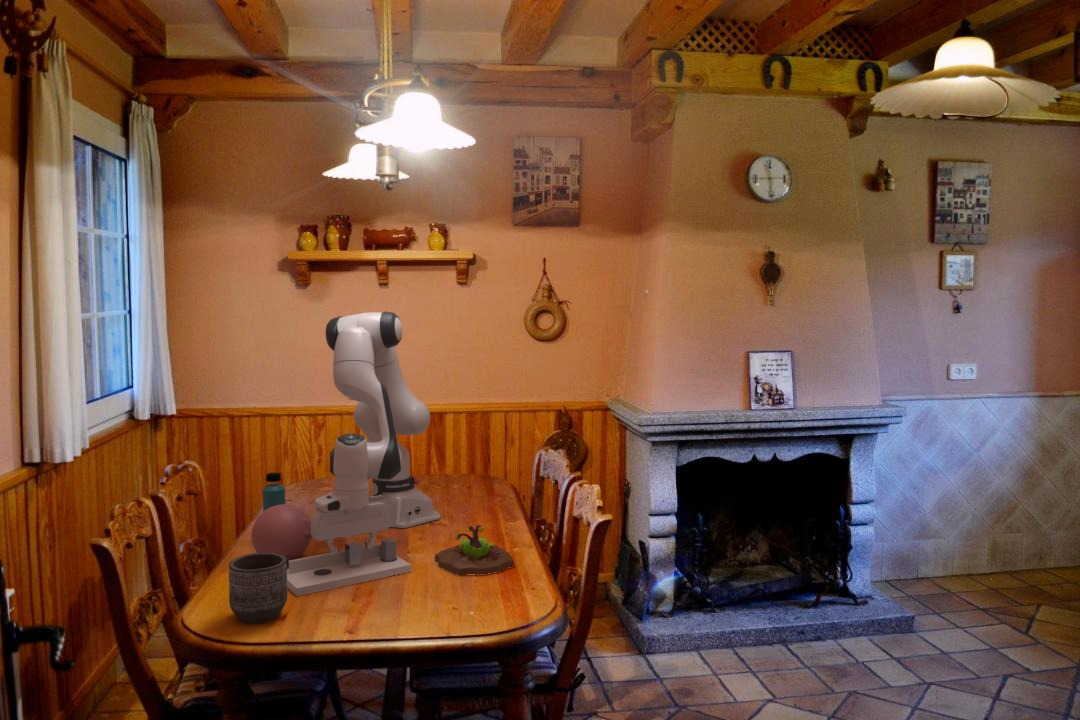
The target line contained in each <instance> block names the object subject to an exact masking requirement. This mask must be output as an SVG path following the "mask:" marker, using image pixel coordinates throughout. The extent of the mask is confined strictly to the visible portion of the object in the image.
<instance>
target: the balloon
mask: <svg viewBox="0 0 1080 720" xmlns="http://www.w3.org/2000/svg"><path fill="white" fill-rule="evenodd" d="M311 520H312V518H309V517H308V515H307V514H306V513H305V512H304V511H303V510H302V509H300V508H299V507H298V506H295V505H291V504H280V505H275V506H272V507H270V508H268V509H266V510H265V511H264V512H263V511H262V512H261V513H260V514H259V515H258V517H257V518H256V519H255V521H254V523H253V526H252V529H251V542H252V545H253V548H254V549H255V552H256V553H277V554H281V555H283V556H285V557H286V560H287V563H289V560H295V559H299V558H300V557H301V556H302V555H304V554H305V552H306V551H307V549H308V548H309V547H310V544H311V542H312V539H313V537H312V536H311Z"/></svg>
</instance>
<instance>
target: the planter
mask: <svg viewBox="0 0 1080 720" xmlns="http://www.w3.org/2000/svg"><path fill="white" fill-rule="evenodd" d="M287 569H288V562H287V560H286V557H285V556H283V555H281V554H277V553H257V552H255V553H248V554H247V553H246V554H244V555H240V556H237V557H236V558H233V559H232V560H230V561H229V563H228V589H229V590H228V596H229V597H228V599H229V602H228V603H229V608H230V610H231V611H232V612H233V614H234V615H235V617H236V618H237V620H238V621H239V622H240V623H242V624H245V625H262V624H266V623H270V622H272V621H274V620H276V619H278V617H279V615H280V613H281V612H282V611H283V609H284V607H285V606H286V604H287V600H288V588H287Z"/></svg>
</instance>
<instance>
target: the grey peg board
mask: <svg viewBox="0 0 1080 720" xmlns="http://www.w3.org/2000/svg"><path fill="white" fill-rule="evenodd" d="M337 553H338V554H337V555H333V556H331V555H330V553H329V552H328V553H322V554H318V555H311V556H306V557H301V558H300V557H299V558H297V559H295V560H289V562H288V568H287V590H289V591H290V592H291V593H292V594H294V595H295V596H296V597H301V596H302V597H303V596H306V595H310V594H316V593H320V592H323V591H325V592H326V591H329V590H334V589H338V587H339V588H343V586H344V587H348V586H347V585H349V586H352V584H353V585H357V583H358V584H361V582H363V583H367V582H371V581H370V580H372V581H376V580H375V579H377V580H380V578H381V579H385V577H386V578H390V577H389V576H391V577H394V576H393V575H395V576H399V575H398V574H400V575H404V574H403V573H405V574H409V573H412V564H411V563H410V562H408V561H406V560H404V559H403V558H402V557H399V556H398V555H397V541H396V540H395V539H394V538H385V539H381V540H380V543H376V544H373V548H372V549H365V546H361V563H359V564H354V565H348V564H347V563H346V562H345V549H344V550H339V551H337ZM408 572H409V573H408ZM319 591H320V592H319ZM315 592H316V593H315Z"/></svg>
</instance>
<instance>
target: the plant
mask: <svg viewBox="0 0 1080 720" xmlns="http://www.w3.org/2000/svg"><path fill="white" fill-rule="evenodd" d="M468 531H469V532H471V533H472V536H470V535H469V534H467V533H463V532H461V533H458V534H456V535H455V540H456V541H460V539H461V544H457V545H455V546H453V547H449V548H445V549H444V550H440V551H438V553H435V554H434V562H435V561H436V562H435V563H437V562H438V563H437V567H438V566H439V567H441V568H443V569H445V570H444V571H446V570H448V571H450V572H452V573H454V574H453V575H455V574H458V575H467V574H476V575H477V574H479V575H480V574H488V573H494V572H499V571H501V570H503V569H506V568H508V567H512V566H514V567H515V561H514V558H513V557H512V556H511V554H510V552H509V551H507V550H506V549H505V548H501V547H500V546H498V545H495V542H491V543H487V542H488V539H487V538H485V537H484V536H483V537H480V538H479V533H483V531H484V527H483V526H482V525H481V524H476V527H473V525H470V526H469V527H468ZM463 536H464V537H466V538H467V539H468V540H467V539H466V538H462V537H463ZM439 567H438V568H439ZM441 568H440V569H441ZM443 569H442V570H443ZM506 570H507V569H506ZM448 571H447V572H448ZM503 571H504V570H503ZM450 572H449V573H450ZM501 572H502V571H501ZM452 573H451V574H452Z"/></svg>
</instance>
